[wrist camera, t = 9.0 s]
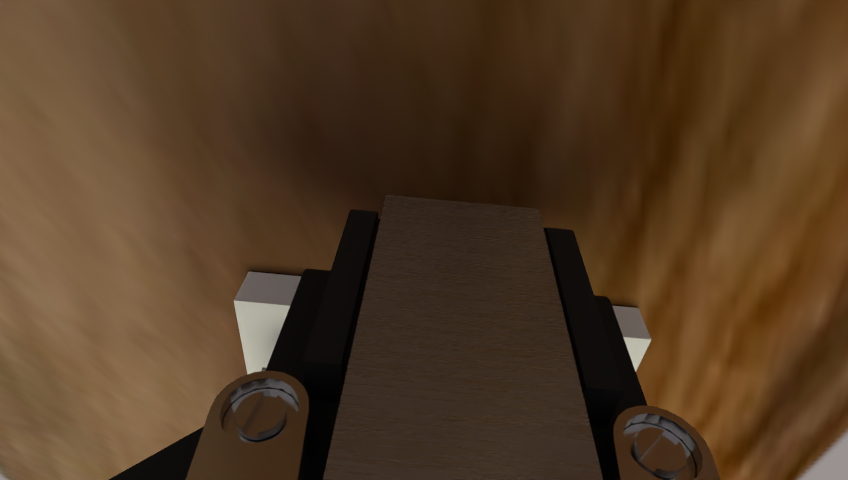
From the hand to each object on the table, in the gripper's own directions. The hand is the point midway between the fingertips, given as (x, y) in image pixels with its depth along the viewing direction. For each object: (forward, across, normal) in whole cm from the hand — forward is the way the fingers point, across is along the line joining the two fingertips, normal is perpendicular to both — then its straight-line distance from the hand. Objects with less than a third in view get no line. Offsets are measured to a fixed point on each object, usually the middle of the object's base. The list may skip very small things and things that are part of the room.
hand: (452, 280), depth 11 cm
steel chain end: (0, 0, +6) cm, 6 cm away
